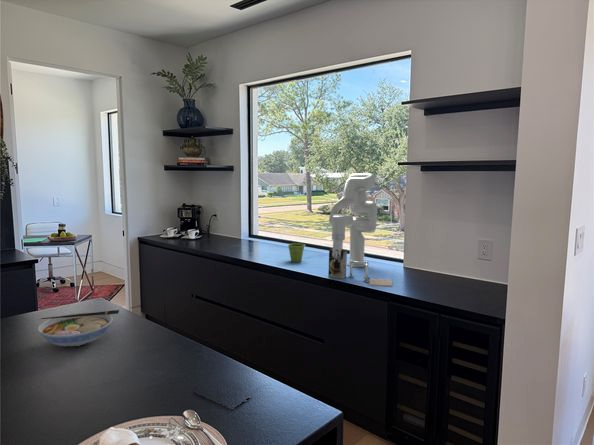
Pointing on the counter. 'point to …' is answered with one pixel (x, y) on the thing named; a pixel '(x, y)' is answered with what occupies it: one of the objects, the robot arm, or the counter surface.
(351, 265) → the white arch piece
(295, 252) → the plant pot
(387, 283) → the tile
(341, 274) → the coffee box
